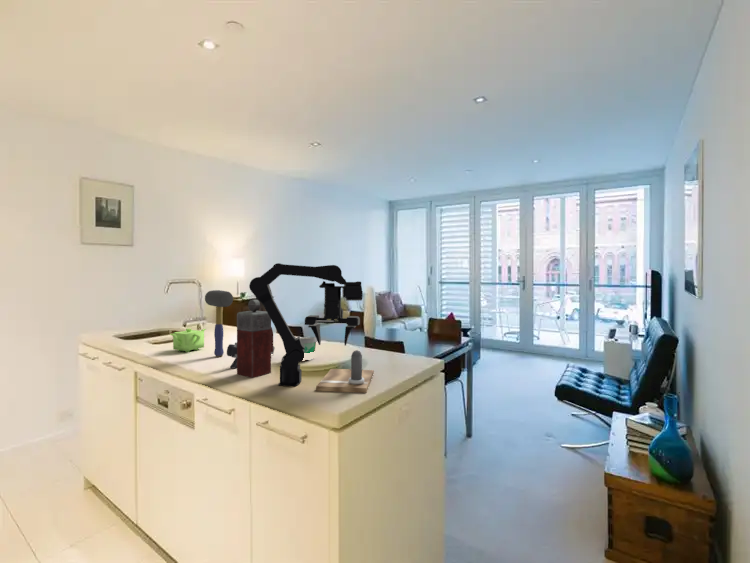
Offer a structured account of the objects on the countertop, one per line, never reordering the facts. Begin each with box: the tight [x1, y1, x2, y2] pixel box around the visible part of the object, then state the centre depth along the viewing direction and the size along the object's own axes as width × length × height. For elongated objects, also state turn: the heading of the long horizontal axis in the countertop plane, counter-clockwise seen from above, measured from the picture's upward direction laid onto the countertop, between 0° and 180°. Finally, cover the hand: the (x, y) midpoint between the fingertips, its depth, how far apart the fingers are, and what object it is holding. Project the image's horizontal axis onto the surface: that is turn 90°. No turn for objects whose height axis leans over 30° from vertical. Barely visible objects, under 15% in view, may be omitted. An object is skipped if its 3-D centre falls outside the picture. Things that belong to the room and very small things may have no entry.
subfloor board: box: [315, 368, 375, 394], centre depth 137 cm, size 16×23×2 cm
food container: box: [300, 336, 318, 353], centre depth 170 cm, size 12×6×10 cm, turn 105°
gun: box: [226, 342, 276, 369], centre depth 163 cm, size 2×25×10 cm, turn 151°
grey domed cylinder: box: [349, 349, 364, 385], centre depth 131 cm, size 5×5×11 cm
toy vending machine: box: [236, 299, 274, 379], centre depth 148 cm, size 9×11×28 cm
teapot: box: [169, 328, 207, 353], centre depth 189 cm, size 15×13×11 cm
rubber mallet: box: [204, 289, 234, 358], centre depth 176 cm, size 12×8×30 cm, turn 55°
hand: (332, 345), depth 137 cm, fingers open, 9 cm apart
